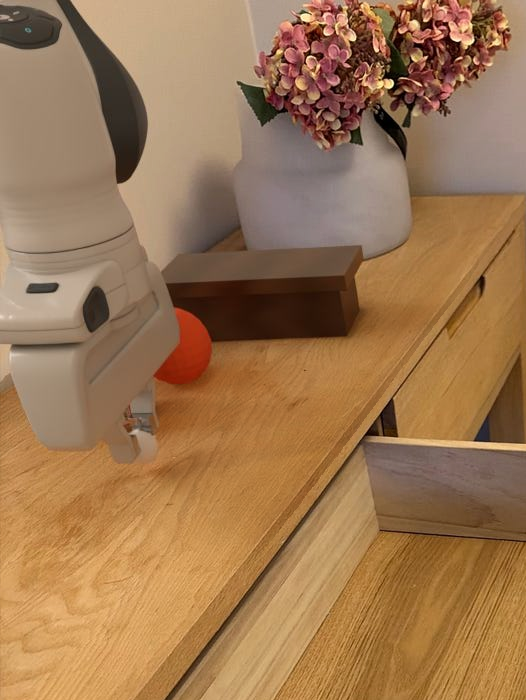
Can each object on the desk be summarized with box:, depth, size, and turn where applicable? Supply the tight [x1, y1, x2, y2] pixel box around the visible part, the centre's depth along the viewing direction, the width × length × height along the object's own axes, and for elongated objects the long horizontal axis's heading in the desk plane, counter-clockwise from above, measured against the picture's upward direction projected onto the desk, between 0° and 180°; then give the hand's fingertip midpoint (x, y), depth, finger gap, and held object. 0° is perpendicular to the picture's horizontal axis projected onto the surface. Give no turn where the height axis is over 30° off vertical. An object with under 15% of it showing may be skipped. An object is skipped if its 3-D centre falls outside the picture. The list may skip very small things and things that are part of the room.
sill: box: [160, 244, 365, 342], centre depth 102 cm, size 20×9×6 cm, turn 85°
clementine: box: [153, 308, 213, 385], centre depth 92 cm, size 8×7×7 cm
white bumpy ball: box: [128, 429, 159, 467], centre depth 80 cm, size 3×3×3 cm
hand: (138, 446), depth 79 cm, fingers closed on white bumpy ball, 3 cm apart
